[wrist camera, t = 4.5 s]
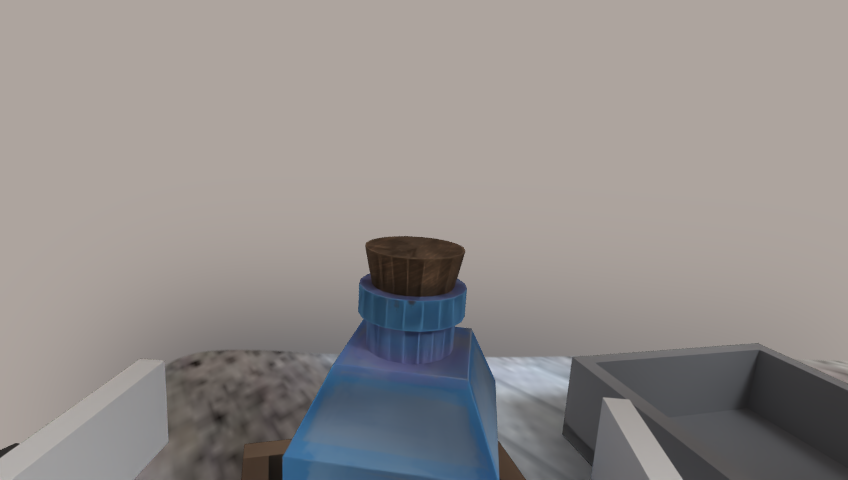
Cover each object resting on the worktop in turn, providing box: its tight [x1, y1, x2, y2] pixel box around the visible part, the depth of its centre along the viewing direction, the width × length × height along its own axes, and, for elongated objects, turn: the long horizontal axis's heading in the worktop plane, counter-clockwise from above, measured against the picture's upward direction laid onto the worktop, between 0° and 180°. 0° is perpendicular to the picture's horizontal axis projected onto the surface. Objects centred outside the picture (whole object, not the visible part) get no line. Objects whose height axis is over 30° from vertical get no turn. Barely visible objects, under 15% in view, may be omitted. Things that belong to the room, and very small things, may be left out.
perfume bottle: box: [282, 236, 499, 480], centre depth 17 cm, size 6×6×12 cm
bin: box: [562, 343, 848, 480], centre depth 23 cm, size 13×13×4 cm
